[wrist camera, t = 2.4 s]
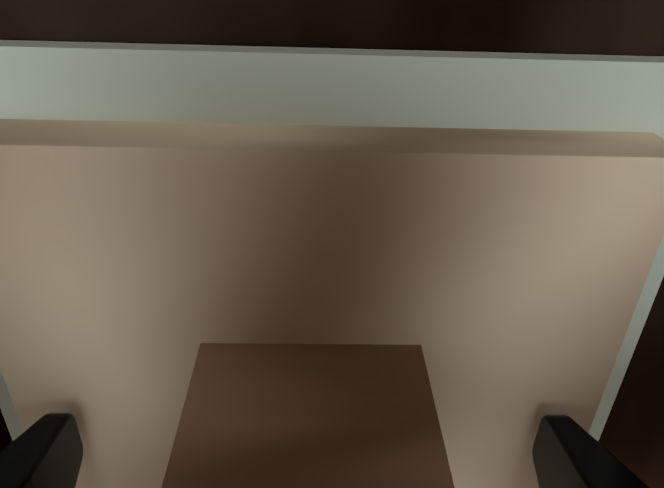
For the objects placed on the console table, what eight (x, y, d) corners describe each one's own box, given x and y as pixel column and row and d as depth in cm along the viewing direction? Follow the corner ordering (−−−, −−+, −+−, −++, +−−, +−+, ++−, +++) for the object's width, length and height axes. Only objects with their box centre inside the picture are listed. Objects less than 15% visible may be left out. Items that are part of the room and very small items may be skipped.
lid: (653, 132, 8) (942, 327, 4) (519, 536, 13) (600, 790, 10) (-39, 117, 8) (-370, 313, 4) (93, 537, 13) (-1, 800, 9)
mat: (729, 57, 8) (746, 64, 8) (546, 544, 14) (551, 560, 14) (-119, 37, 8) (-139, 42, 7) (65, 546, 14) (59, 562, 14)
